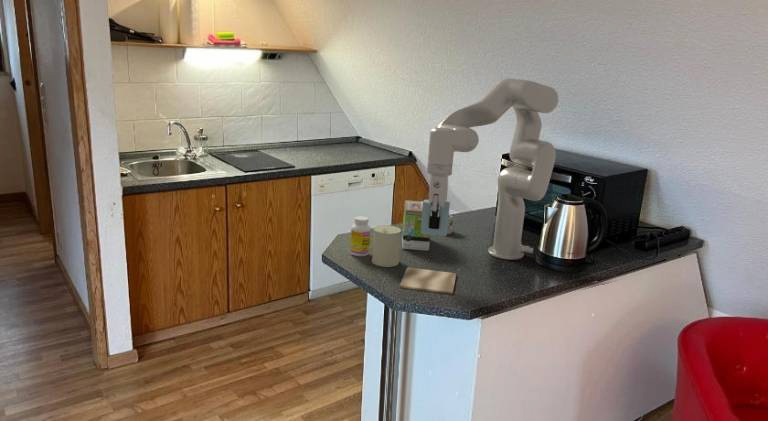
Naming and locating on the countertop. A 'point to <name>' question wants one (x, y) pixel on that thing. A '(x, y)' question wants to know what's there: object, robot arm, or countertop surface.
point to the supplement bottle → (360, 237)
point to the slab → (443, 219)
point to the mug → (449, 224)
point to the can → (386, 246)
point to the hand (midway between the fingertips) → (434, 226)
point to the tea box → (413, 227)
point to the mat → (428, 280)
